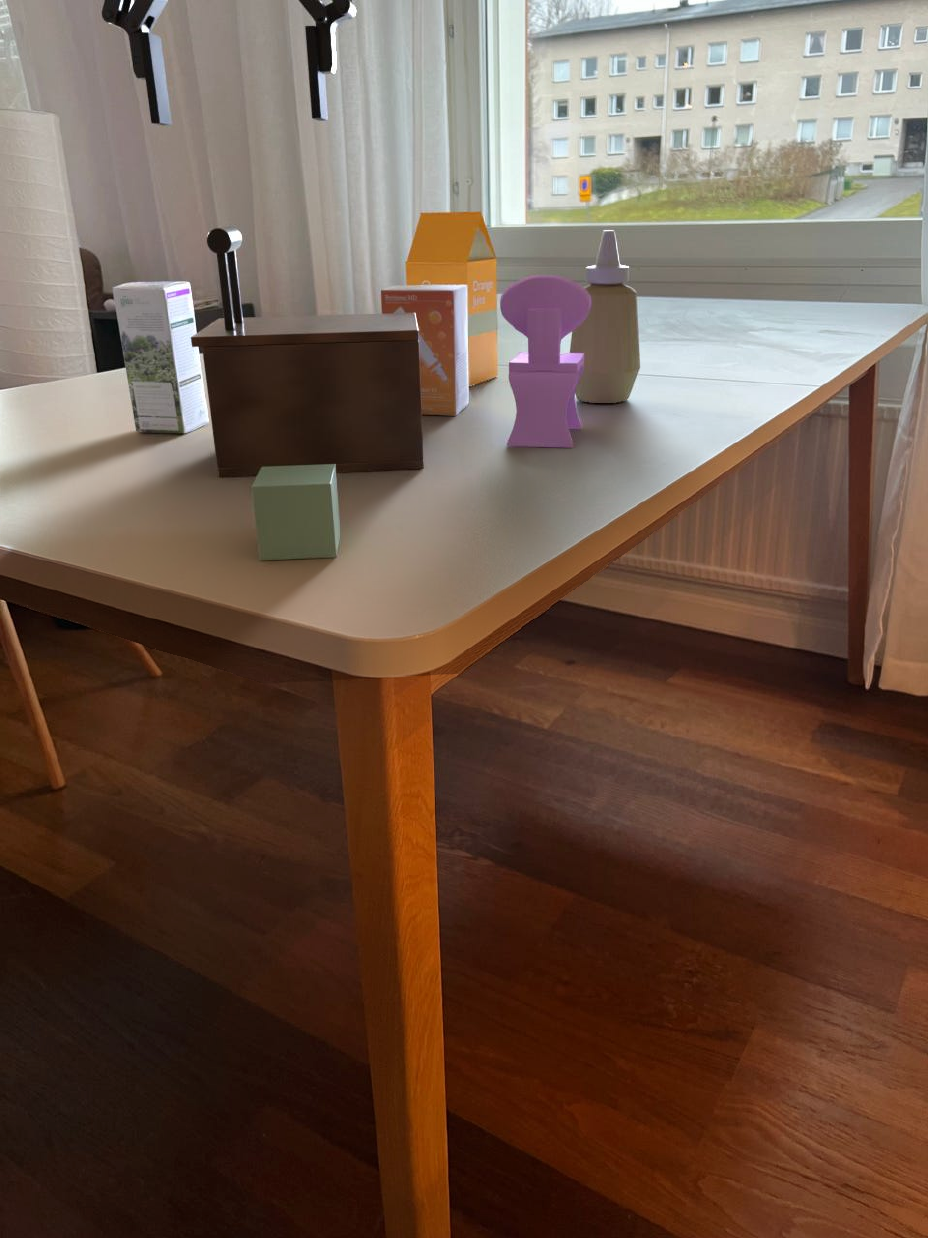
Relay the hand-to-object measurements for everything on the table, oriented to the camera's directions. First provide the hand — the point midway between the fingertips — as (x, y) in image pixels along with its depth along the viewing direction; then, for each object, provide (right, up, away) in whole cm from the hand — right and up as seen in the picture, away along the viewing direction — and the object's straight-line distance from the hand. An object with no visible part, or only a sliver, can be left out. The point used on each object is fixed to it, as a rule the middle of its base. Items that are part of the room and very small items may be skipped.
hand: (240, 122), depth 80 cm
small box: (+15, -19, +26) cm, 35 cm away
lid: (+5, -16, +4) cm, 18 cm away
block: (+8, -37, -15) cm, 41 cm away
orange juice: (+18, -11, +44) cm, 49 cm away
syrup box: (-12, -22, +20) cm, 32 cm away
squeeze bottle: (+35, -17, +29) cm, 48 cm away
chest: (+6, -26, +8) cm, 28 cm away
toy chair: (+27, -24, +13) cm, 38 cm away
